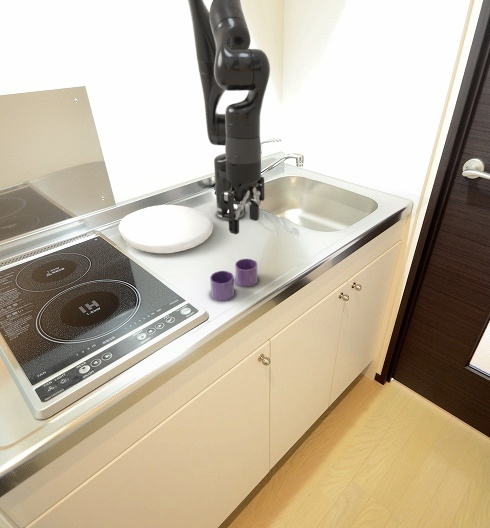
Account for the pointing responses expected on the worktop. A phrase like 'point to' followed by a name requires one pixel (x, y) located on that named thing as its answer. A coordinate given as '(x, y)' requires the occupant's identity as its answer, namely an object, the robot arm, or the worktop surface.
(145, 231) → the plate
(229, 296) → the ramekin
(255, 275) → the ramekin
